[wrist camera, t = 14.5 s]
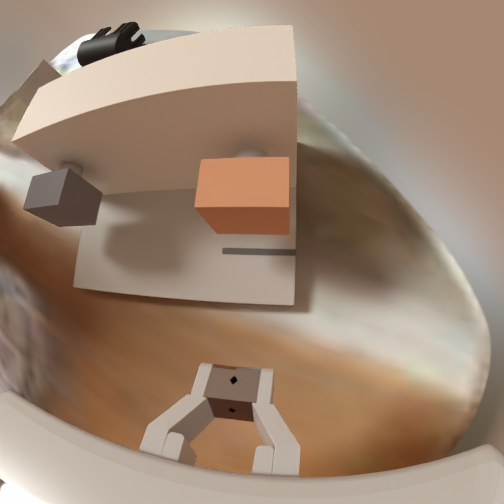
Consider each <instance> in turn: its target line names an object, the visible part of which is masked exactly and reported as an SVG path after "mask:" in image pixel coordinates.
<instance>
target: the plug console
mask: <svg viewBox="0 0 504 504" xmlns="http://www.w3.org/2000/svg"><path fill="white" fill-rule="evenodd" d="M12 143H13V144H15V145H16V146H18V147H19V148H20V149H22V150H23V151H24V152H26V153H27V154H29V155H30V156H31V157H33V158H34V159H36V160H37V161H38V162H40V163H41V164H43V165H44V166H45V167H47V168H48V169H50V170H51V171H57V170H59V168H60V165H61V164H62V163H73V164H76V165H78V166H80V167H81V168H82V169H83V175H82V178H83V179H84V180H86V181H87V182H89V183H90V184H91V185H93V186H94V187H95V188H97V189H98V190H99V191H101V192H102V193H103V194H102V198H101V202H100V207H99V212H98V216H97V221H96V225H88V226H82V231H81V236H80V242H79V248H78V254H77V260H76V267H75V275H74V283H73V287H76V288H81V289H88V290H95V291H103V292H111V293H120V294H129V295H138V296H148V297H158V298H169V299H180V300H193V301H206V302H221V303H238V304H257V305H282V306H294V294H295V262H296V177H297V76H296V62H295V50H294V38H293V28H292V25H291V26H290V25H283V26H256V27H244V28H233V29H224V30H218V31H217V30H216V31H210V32H203V33H197V34H192V35H186V36H181V37H177V38H172V39H168V40H163V41H159V42H155V43H152V44H148V45H144V46H141V47H137V48H134V49H131V50H128V51H124V52H121V53H118V54H115V55H113V56H110V57H107V58H104V59H102V60H99V61H96V62H94V63H91V64H89V65H86V66H84V67H82V68H79V69H77V70H75V71H72V72H70V73H68V74H66V75H64V76H62V77H60V78H57V79H55V80H53V81H51V82H49V83H48V84H46V85H44V86H42V87H40V88H39V89H38V90H37V92H36V94H35V96H34V97H33V99H32V101H31V103H30V105H29V106H28V108H27V110H26V112H25V114H24V116H23V118H22V120H21V122H20V124H19V126H18V128H17V130H16V133H15V135H14V137H13V139H12ZM246 148H254V149H259V150H262V151H264V152H266V153H267V154H268V155H269V157H289V170H290V233H289V235H261V234H217V233H216V232H215V231H214V230H213V229H212V228H211V226H210V225H209V224H208V223H207V222H206V221H205V219H204V218H203V217H202V216H201V215H200V213H199V212H198V211H197V210H196V209H195V208H194V206H195V198H196V191H197V184H198V177H199V170H200V164H201V159H219V158H233V155H234V153H235V152H237V151H239V150H241V149H246Z"/></svg>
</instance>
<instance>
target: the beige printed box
mask: <svg viewBox="0 0 504 504" xmlns="http://www.w3.org/2000/svg"><path fill="white" fill-rule="evenodd" d="M60 77H62V76H61V75H60V74H59V73H58V72H57V71H56V70H55V69H53V68H52V67H51V66H50V65H49V64H48V63H47V62H46V61H45V60H43V61H42V62H41V63H40V64H39V65H38V66H37V67H36V68H35V69H34V70H33V71H32V73H31V74H30V75H29V76H28V77H27V78H26V79H25V81H24V82H23V83H22V84H21V85H20V87H19V88H18V89H17V90H16V92H15V94H16V95H17V96H18V97H19V98H20V99H21V100H22V101H23V102H24V103H25V104H26V105H27V106H29V105H30V103H31V101H32V99H33V97H34V96H35V94H36V92H37V90H38V89H39V88H40V87H42V86H44V85H46V84H48V83H49V82H51V81H53V80H55V79H57V78H60Z"/></svg>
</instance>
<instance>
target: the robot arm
mask: <svg viewBox="0 0 504 504" xmlns="http://www.w3.org/2000/svg"><path fill="white" fill-rule="evenodd" d="M273 393H274V369H262V368H251V367H234V366H225V365H216V364H209V363H201V365H200V366H199V369H198V372H197V376H196V379H195V382H194V385H193V388H192V391H191V395H188V394H187V395H186V396H184V397H183V398H182V399H181V400H180V401H178V402H177V403H176V404H174V405H173V406H172V407H171V408H169V409H168V410H167V411H166V412H164V413H163V414H162V415H160V416H159V417H158V418H157V419H155V420H154V421H153V422H151V423H150V424H149V425H148V426H147V429H146V432H145V434H144V437H143V440H142V443H141V445H140V448H139V451H137V450H134V449H131V448H128V447H125V446H122V445H119V444H116V443H114V442H111V441H108V440H106V439H103V438H101V437H98V436H96V435H94V434H91V433H89V432H87V431H84V430H82V429H80V428H78V427H76V426H74V425H72V424H69V423H67V422H65V421H63V420H61V419H59V418H57V417H56V416H54V415H52V414H50V413H48V412H46V411H44V410H43V409H41V408H39V407H37V406H36V405H34V404H32V403H31V402H29V401H27V400H26V399H24V398H22V397H21V396H19V395H18V394H16V393H15V392H13V391H6V392H4V393H2V394H0V504H504V454H503V453H502V452H501V451H500V450H499V449H497V448H496V447H494V446H493V445H491V444H484V445H481V446H479V447H476V448H473V449H471V450H468V451H465V452H462V453H459V454H456V455H453V456H449V457H446V458H442V459H439V460H435V461H431V462H427V463H423V464H419V465H414V466H410V467H405V468H400V469H394V470H388V471H382V472H375V473H367V474H358V475H347V476H331V477H299V463H300V448H301V447H300V445H299V444H298V442H297V441H296V439H295V437H294V436H293V434H292V433H291V431H290V429H289V428H288V426H287V424H286V423H285V421H284V420H283V418H282V416H281V415H280V413H279V411H278V410H277V408H276V406H275V405H274V404H273ZM214 417H216V418H225V419H235V420H242V421H251V422H254V423H255V425H256V428H257V430H258V432H259V434H260V436H261V438H262V440H263V441H264V443H265V445H266V446H258V447H257V448H256V451H255V457H254V463H253V469H252V475H251V474H242V473H234V472H227V471H220V470H214V469H208V468H203V467H198V466H195V462H196V458H197V455H196V453H195V452H194V450H193V449H192V448H191V446H190V445H189V444H190V443H191V442H192V441H193V440H194V439H195V438H196V437H197V436H198V435H199V434H200V433H201V432H202V431H203V430H204V429H205V428H206V427H207V426H208V425H209V424H210V423H211V422H212V421H213V419H214Z"/></svg>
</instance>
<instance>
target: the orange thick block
mask: <svg viewBox="0 0 504 504" xmlns="http://www.w3.org/2000/svg"><path fill="white" fill-rule="evenodd" d="M194 208H195V209H196V210H197V211H198V212H199V213H200V215H201V216H202V217H203V218H204V219H205V221H206V222H207V223H208V224H209V225H210V226H211V228H212V229H213V230H214V231H215V232H216V233H217V234H261V235H289V233H290V170H289V157H269V155H268V154H267V153H266V152H264V151H262V150H259V149H254V148H246V149H241V150H239V151H237V152H235V153H234V155H233V158H219V159H201V164H200V170H199V177H198V184H197V191H196V198H195V206H194Z"/></svg>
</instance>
